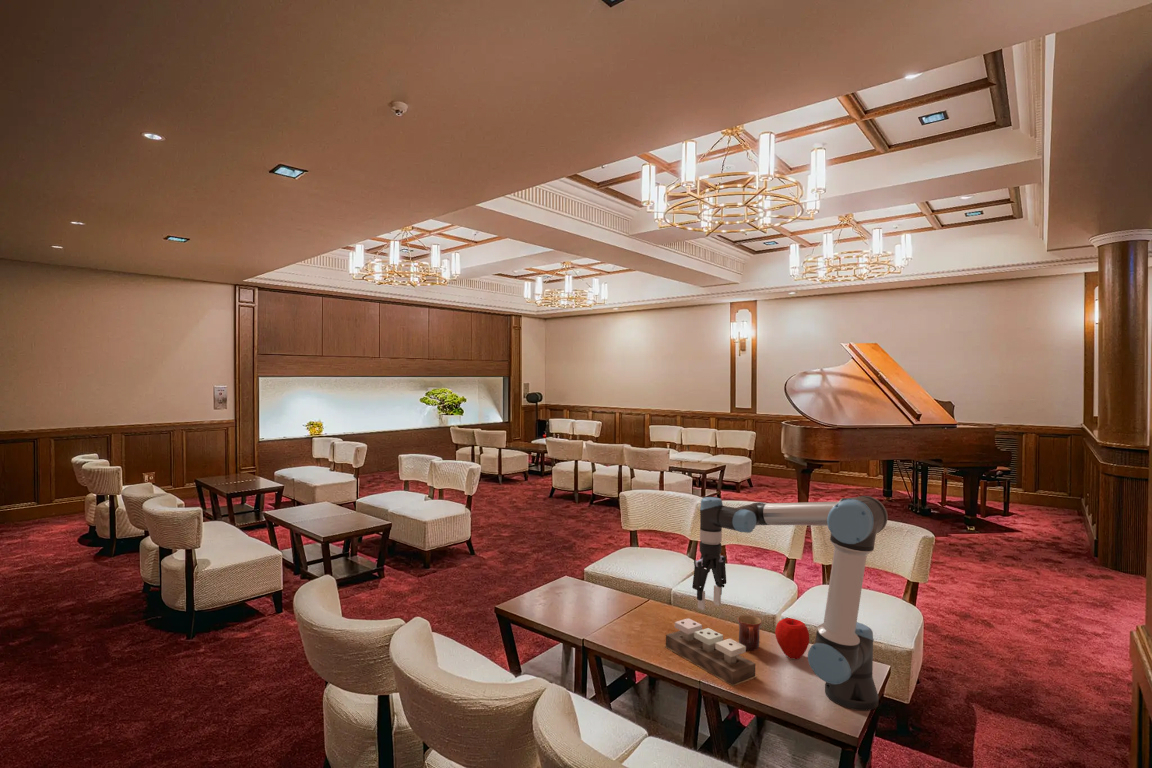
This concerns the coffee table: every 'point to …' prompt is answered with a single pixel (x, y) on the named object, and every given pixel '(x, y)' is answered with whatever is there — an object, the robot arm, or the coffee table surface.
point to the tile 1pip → (730, 649)
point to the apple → (792, 637)
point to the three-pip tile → (708, 638)
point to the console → (711, 659)
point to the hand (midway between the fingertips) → (709, 606)
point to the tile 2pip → (688, 628)
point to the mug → (749, 631)
